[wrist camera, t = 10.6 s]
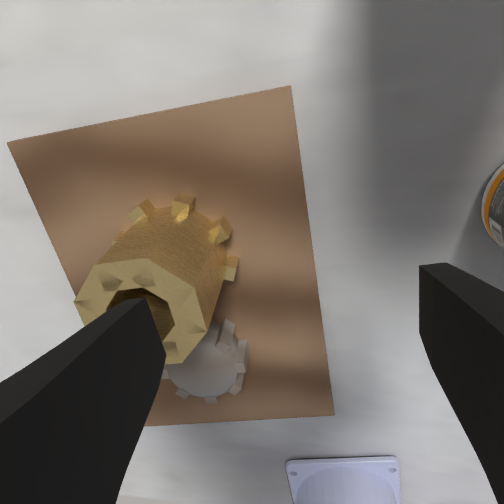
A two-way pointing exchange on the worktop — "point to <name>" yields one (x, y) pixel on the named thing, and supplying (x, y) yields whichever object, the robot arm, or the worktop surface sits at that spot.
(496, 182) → the pill bottle
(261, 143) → the carrier plate
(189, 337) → the gear
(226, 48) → the worktop surface
